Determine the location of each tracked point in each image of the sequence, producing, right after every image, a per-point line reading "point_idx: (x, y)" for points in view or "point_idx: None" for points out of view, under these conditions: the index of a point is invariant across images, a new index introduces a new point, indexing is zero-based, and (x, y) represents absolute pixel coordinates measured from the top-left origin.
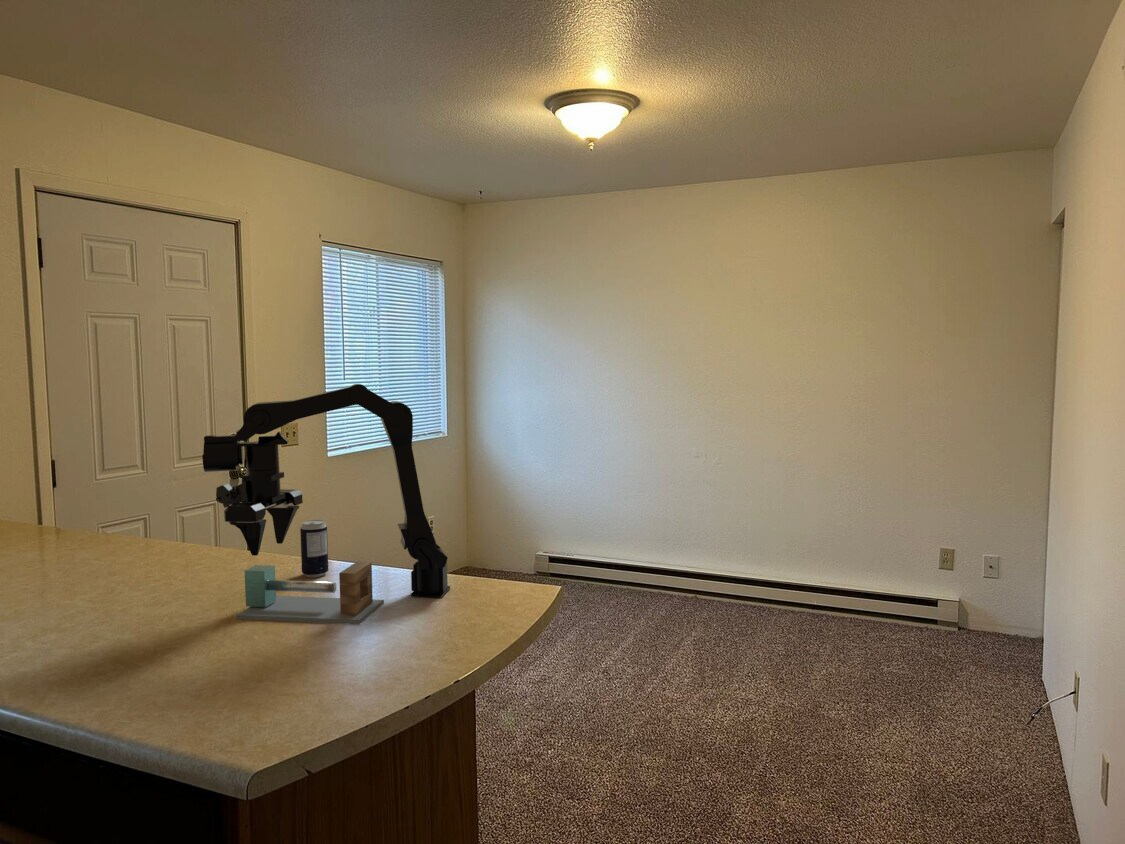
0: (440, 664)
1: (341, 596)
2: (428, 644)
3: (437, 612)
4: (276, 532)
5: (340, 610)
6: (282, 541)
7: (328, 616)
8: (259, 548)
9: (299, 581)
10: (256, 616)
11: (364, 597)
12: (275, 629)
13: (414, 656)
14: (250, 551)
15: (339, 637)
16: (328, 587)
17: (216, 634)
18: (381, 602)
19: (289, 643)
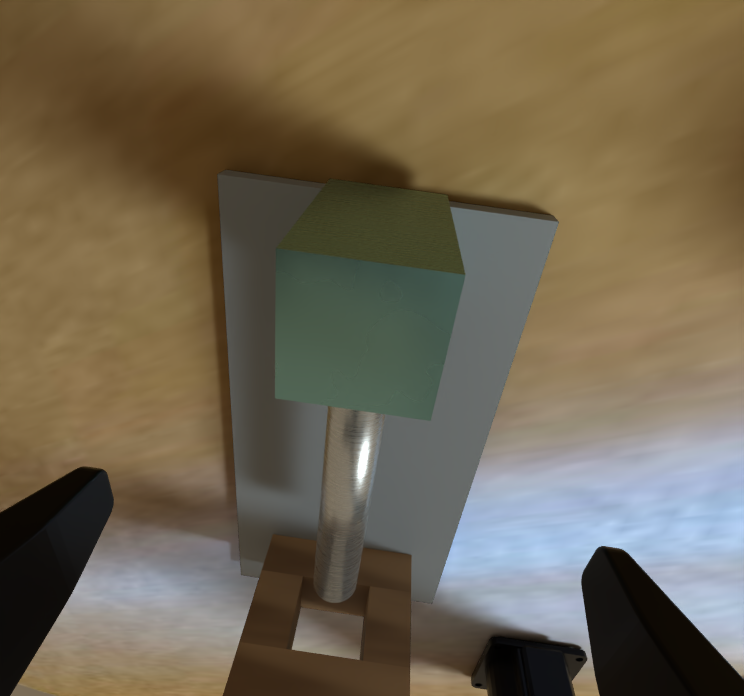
0: (69, 673)
1: (254, 598)
2: (154, 661)
3: None
4: (665, 683)
5: (268, 549)
6: (586, 603)
7: (258, 509)
8: (64, 583)
9: (340, 497)
10: (225, 276)
11: (337, 611)
12: (148, 375)
13: (87, 648)
14: (39, 492)
15: (140, 538)
16: (315, 574)
17: (19, 165)
18: (412, 598)
19: (52, 446)
